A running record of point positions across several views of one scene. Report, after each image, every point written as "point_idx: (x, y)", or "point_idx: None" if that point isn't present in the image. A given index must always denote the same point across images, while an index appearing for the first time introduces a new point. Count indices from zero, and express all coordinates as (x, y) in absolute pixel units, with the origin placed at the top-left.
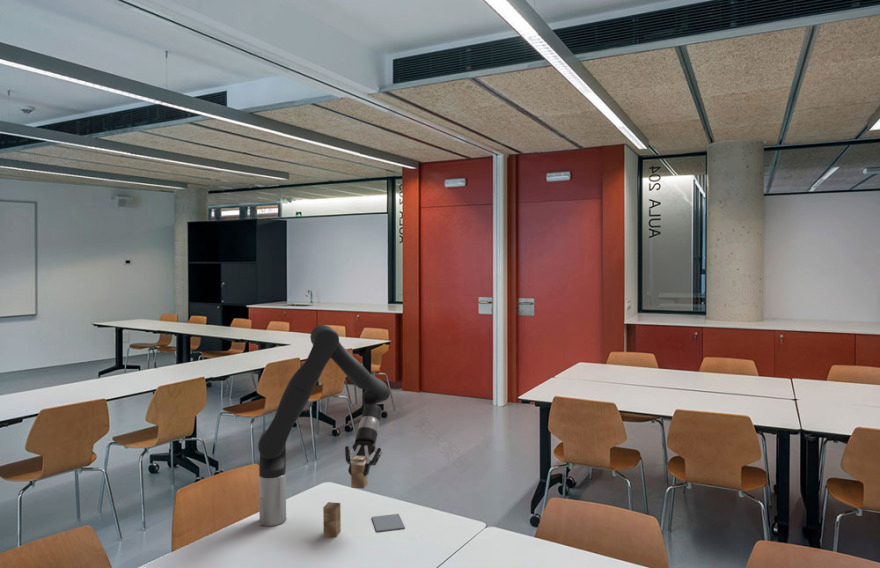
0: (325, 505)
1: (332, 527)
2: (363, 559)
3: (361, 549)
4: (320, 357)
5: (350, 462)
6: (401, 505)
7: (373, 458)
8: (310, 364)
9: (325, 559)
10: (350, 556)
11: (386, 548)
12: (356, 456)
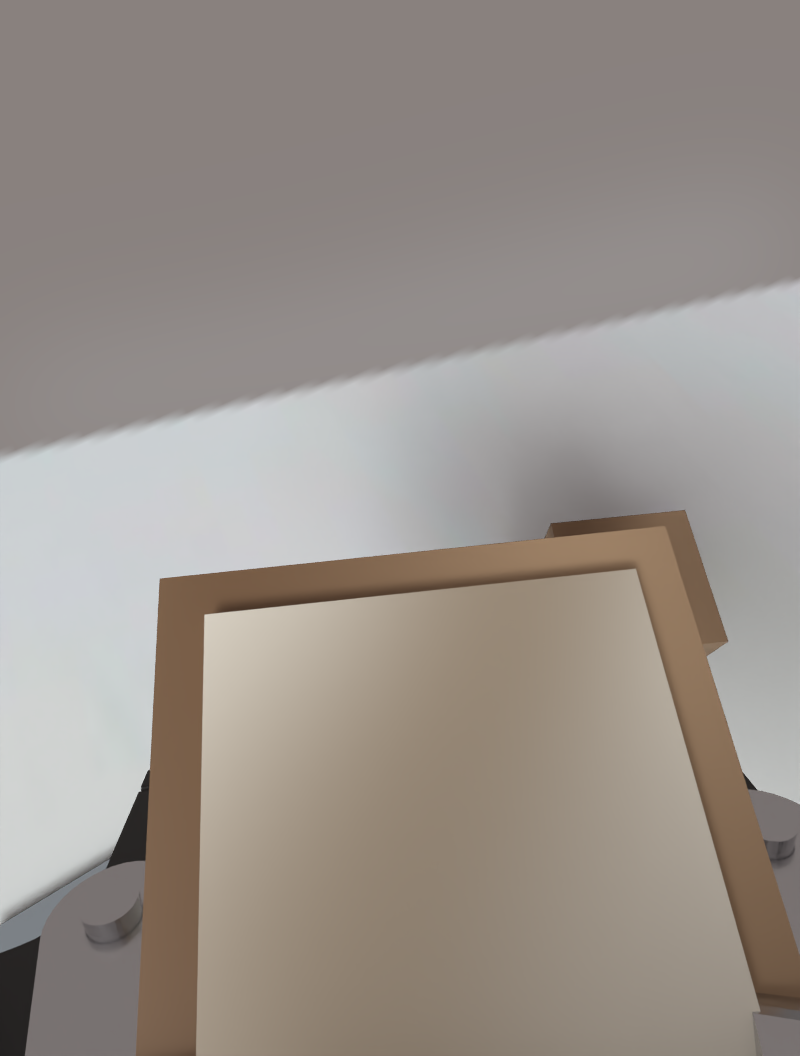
0: (695, 556)
1: None
2: (212, 420)
3: (264, 519)
4: None
5: (768, 796)
6: None
7: None
8: None
9: (427, 372)
10: (300, 431)
11: (100, 571)
12: (657, 915)
